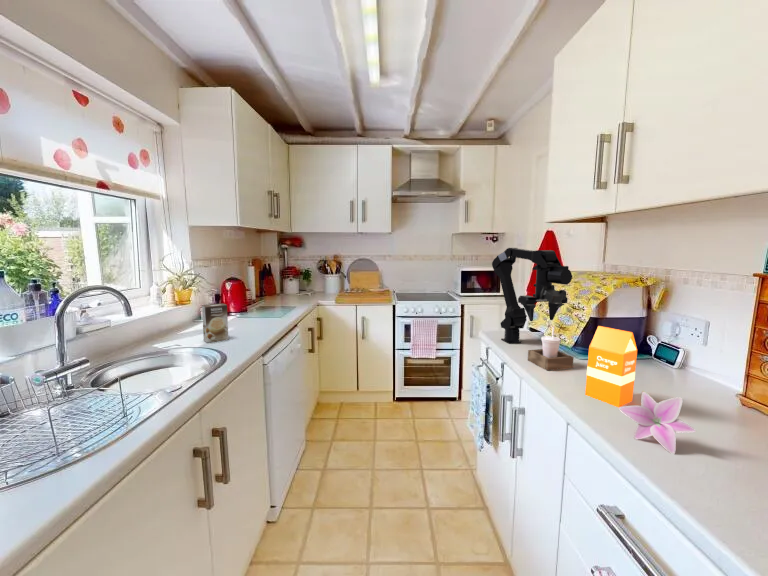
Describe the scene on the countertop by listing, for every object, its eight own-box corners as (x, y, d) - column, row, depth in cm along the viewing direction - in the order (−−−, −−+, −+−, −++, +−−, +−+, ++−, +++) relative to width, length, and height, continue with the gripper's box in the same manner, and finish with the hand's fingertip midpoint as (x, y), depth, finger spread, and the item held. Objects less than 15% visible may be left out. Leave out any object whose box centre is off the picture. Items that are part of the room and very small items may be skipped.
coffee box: (206, 343, 144) (204, 307, 142) (203, 340, 149) (201, 305, 147) (229, 339, 150) (227, 304, 148) (225, 336, 155) (223, 302, 153)
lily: (609, 427, 80) (612, 401, 75) (648, 405, 82) (653, 379, 77) (660, 471, 70) (666, 445, 65) (703, 445, 71) (713, 418, 66)
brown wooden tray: (527, 360, 124) (528, 350, 124) (551, 358, 126) (552, 348, 126) (547, 370, 114) (547, 359, 113) (572, 368, 116) (573, 357, 116)
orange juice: (618, 407, 88) (625, 334, 85) (584, 394, 95) (590, 327, 93) (632, 400, 92) (640, 330, 89) (598, 389, 99) (604, 323, 97)
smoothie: (559, 368, 116) (561, 329, 114) (538, 365, 119) (541, 327, 117) (559, 362, 122) (562, 325, 120) (540, 360, 125) (542, 323, 123)
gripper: (537, 284, 121) (534, 326, 123) (580, 283, 125) (576, 324, 127) (518, 281, 131) (516, 320, 133) (558, 280, 136) (555, 318, 138)
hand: (541, 320), depth 132 cm, fingers open, 9 cm apart
